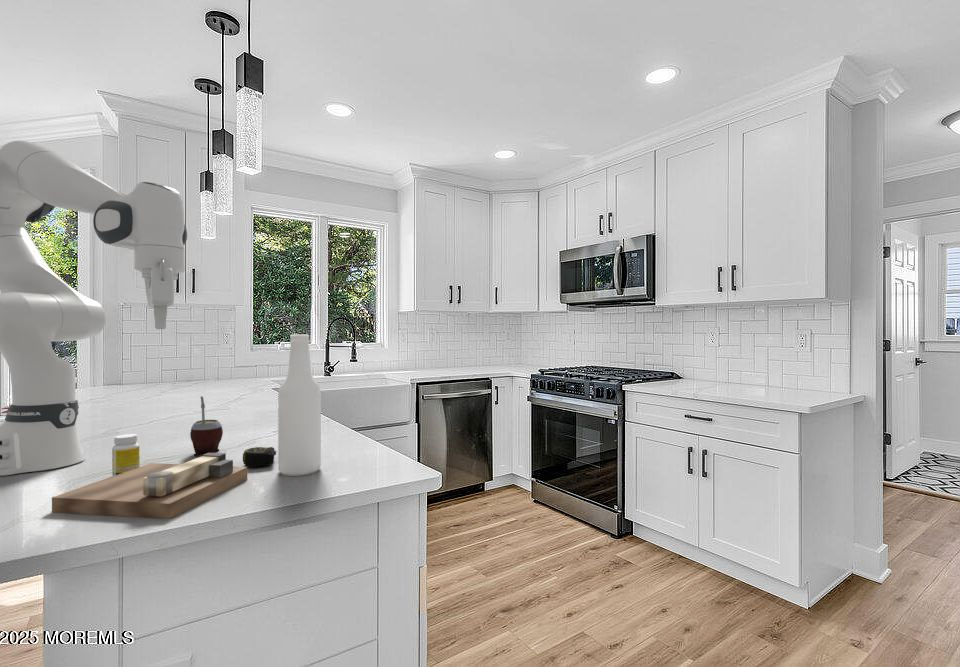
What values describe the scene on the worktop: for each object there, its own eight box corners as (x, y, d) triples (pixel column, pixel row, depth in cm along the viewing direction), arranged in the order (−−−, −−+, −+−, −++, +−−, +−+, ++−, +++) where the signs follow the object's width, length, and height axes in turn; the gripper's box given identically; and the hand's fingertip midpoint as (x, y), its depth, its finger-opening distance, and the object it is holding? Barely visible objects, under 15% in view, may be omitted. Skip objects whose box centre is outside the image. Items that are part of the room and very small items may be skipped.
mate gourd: (211, 448, 131) (211, 390, 131) (230, 452, 127) (230, 393, 127) (182, 455, 125) (182, 394, 125) (201, 459, 121) (201, 396, 121)
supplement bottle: (144, 473, 109) (144, 434, 109) (121, 479, 105) (121, 439, 105) (130, 471, 111) (130, 432, 111) (107, 476, 107) (107, 436, 107)
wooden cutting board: (51, 512, 87) (51, 482, 86) (151, 474, 108) (151, 451, 108) (169, 518, 84) (169, 488, 84) (247, 479, 106) (247, 455, 105)
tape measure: (273, 468, 114) (273, 452, 114) (240, 471, 112) (240, 454, 112) (276, 460, 121) (276, 445, 120) (244, 462, 118) (244, 447, 118)
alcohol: (280, 479, 106) (280, 334, 105) (276, 468, 113) (275, 334, 113) (324, 473, 110) (324, 334, 109) (317, 463, 117) (316, 334, 117)
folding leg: (161, 496, 86) (161, 478, 86) (141, 495, 87) (141, 477, 87) (225, 469, 103) (225, 453, 103) (208, 468, 103) (208, 452, 103)
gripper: (182, 258, 98) (182, 329, 99) (174, 268, 115) (174, 328, 115) (143, 255, 95) (143, 329, 95) (140, 266, 112) (141, 328, 112)
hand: (160, 329), depth 105 cm, fingers closed
